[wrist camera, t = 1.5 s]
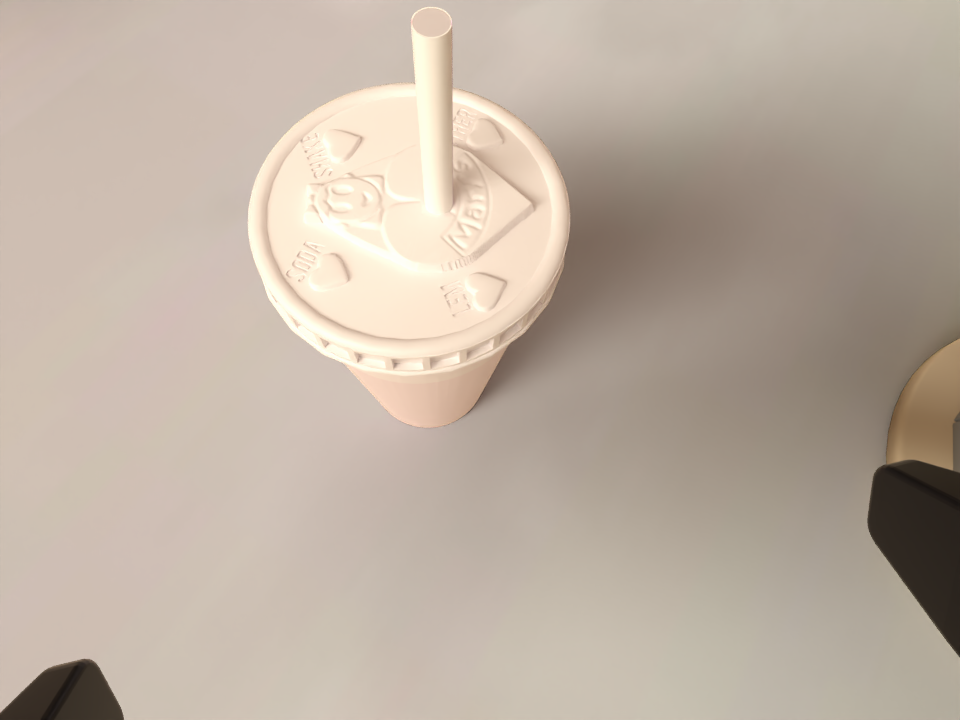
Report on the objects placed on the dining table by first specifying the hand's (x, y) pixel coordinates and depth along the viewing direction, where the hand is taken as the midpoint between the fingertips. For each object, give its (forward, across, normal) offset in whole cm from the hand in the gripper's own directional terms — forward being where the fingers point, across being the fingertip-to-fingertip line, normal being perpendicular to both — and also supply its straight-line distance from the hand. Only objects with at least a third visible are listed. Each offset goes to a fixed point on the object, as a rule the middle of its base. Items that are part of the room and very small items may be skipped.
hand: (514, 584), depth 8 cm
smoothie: (+14, 0, +4) cm, 15 cm away
